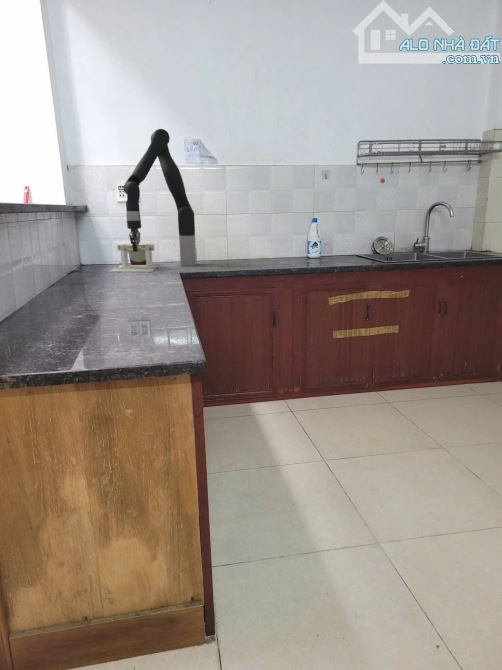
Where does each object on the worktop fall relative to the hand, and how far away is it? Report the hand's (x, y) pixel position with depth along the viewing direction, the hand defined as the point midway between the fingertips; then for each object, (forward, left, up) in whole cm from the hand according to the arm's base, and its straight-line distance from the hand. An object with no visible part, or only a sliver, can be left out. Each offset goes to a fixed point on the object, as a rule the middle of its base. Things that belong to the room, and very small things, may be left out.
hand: (136, 251), depth 266 cm
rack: (0, 0, -10) cm, 10 cm away
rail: (0, 0, 0) cm, 0 cm away
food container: (+2, -12, -10) cm, 16 cm away
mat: (0, +10, -10) cm, 14 cm away
